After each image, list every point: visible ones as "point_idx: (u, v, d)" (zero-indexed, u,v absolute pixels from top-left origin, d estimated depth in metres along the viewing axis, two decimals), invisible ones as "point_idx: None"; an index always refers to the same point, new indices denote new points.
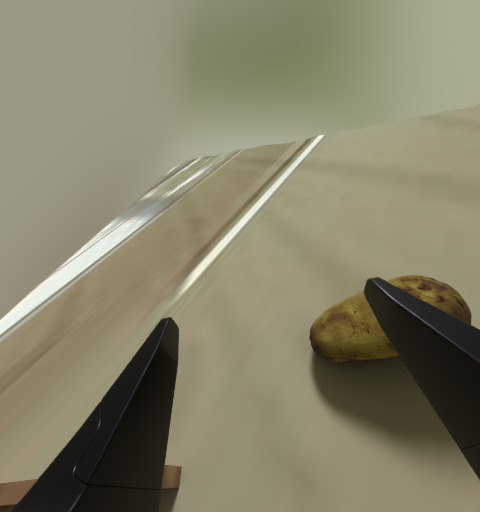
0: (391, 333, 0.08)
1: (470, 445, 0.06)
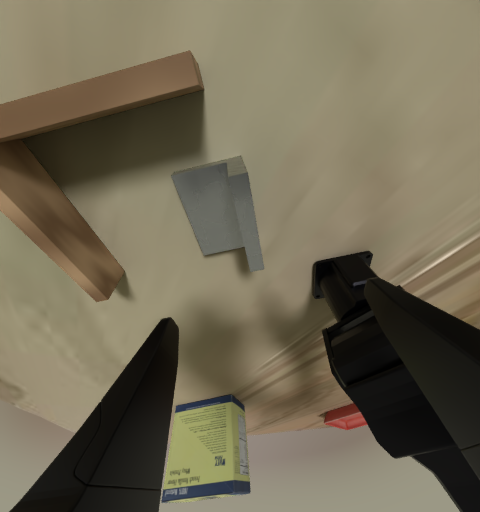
0: (391, 333, 0.08)
1: (470, 446, 0.06)
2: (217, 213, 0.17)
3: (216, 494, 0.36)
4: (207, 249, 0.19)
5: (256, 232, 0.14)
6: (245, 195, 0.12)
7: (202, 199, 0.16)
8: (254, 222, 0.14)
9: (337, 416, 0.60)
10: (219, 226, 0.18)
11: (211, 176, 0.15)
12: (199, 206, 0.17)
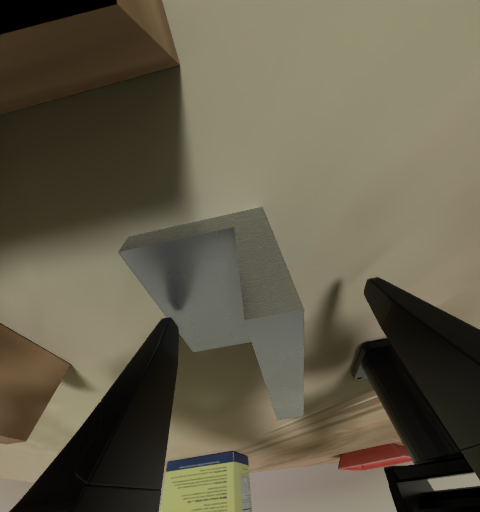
0: (391, 333, 0.08)
1: (470, 446, 0.06)
2: (215, 303, 0.09)
3: None
4: (198, 345, 0.12)
5: (300, 386, 0.06)
6: (288, 346, 0.05)
7: (185, 285, 0.09)
8: (299, 377, 0.06)
9: (354, 462, 0.53)
10: (218, 319, 0.10)
11: (201, 251, 0.07)
12: (182, 295, 0.09)
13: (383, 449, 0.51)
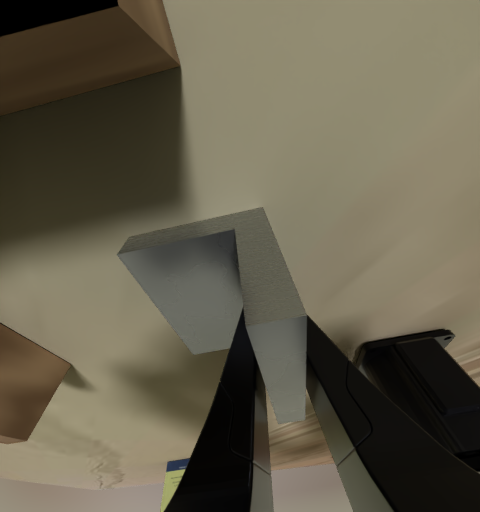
0: None
1: (338, 463, 0.06)
2: (215, 306, 0.09)
3: None
4: (198, 348, 0.12)
5: (302, 391, 0.06)
6: (291, 351, 0.05)
7: (185, 288, 0.08)
8: (301, 382, 0.06)
9: None
10: (219, 321, 0.10)
11: (201, 253, 0.07)
12: (182, 297, 0.09)
13: None
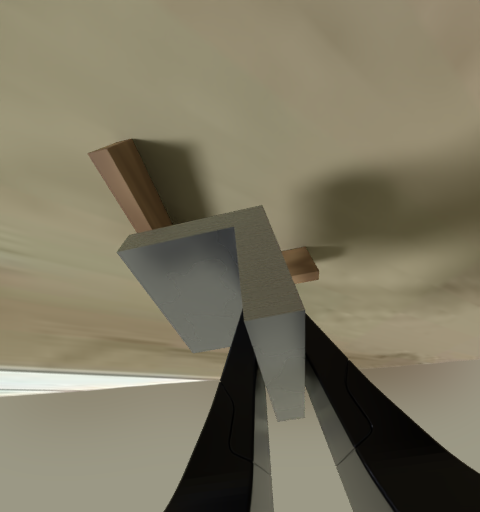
0: None
1: (338, 463, 0.06)
2: (215, 304, 0.09)
3: None
4: (198, 346, 0.12)
5: (301, 388, 0.06)
6: (289, 347, 0.05)
7: (184, 286, 0.08)
8: (300, 378, 0.06)
9: None
10: (218, 320, 0.10)
11: (201, 250, 0.07)
12: (181, 296, 0.09)
13: None
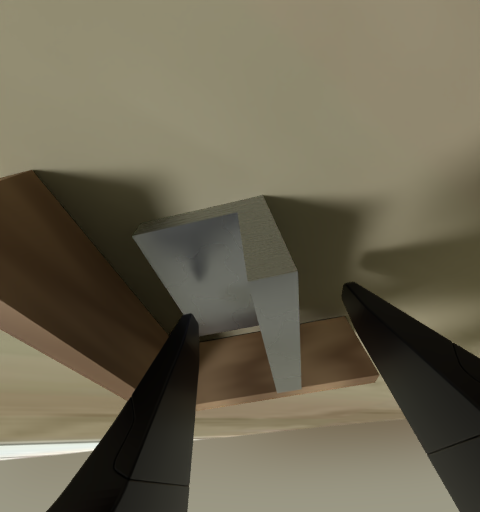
0: (365, 338, 0.08)
1: (435, 451, 0.06)
2: (219, 287, 0.10)
3: None
4: (203, 329, 0.12)
5: (297, 354, 0.07)
6: (286, 309, 0.05)
7: (192, 269, 0.09)
8: (296, 343, 0.07)
9: None
10: (222, 303, 0.11)
11: (207, 235, 0.08)
12: (188, 278, 0.10)
13: None
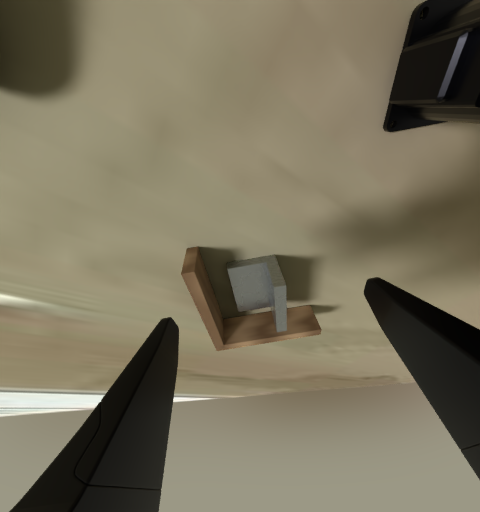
0: (391, 333, 0.08)
1: (470, 446, 0.06)
2: (254, 288, 0.24)
3: None
4: (242, 308, 0.26)
5: (285, 312, 0.21)
6: (282, 295, 0.19)
7: (245, 281, 0.23)
8: (285, 307, 0.21)
9: None
10: (253, 295, 0.25)
11: (254, 269, 0.22)
12: (242, 284, 0.23)
13: None
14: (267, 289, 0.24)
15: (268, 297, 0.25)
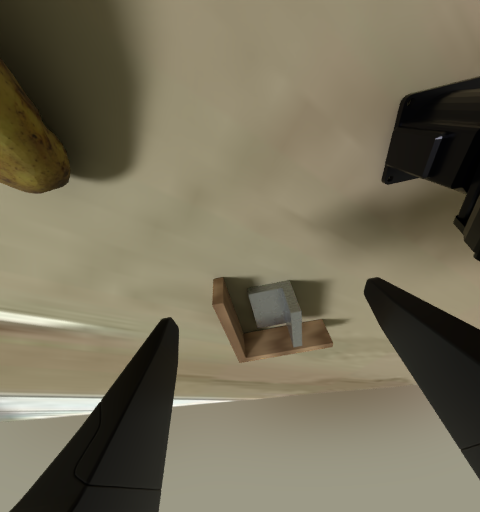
0: (391, 333, 0.08)
1: (470, 445, 0.06)
2: (271, 308, 0.27)
3: None
4: (260, 325, 0.29)
5: (301, 331, 0.24)
6: (298, 318, 0.22)
7: (263, 303, 0.26)
8: (300, 327, 0.24)
9: None
10: (271, 314, 0.28)
11: (271, 293, 0.25)
12: (261, 306, 0.27)
13: None
14: (283, 309, 0.27)
15: (284, 315, 0.28)
